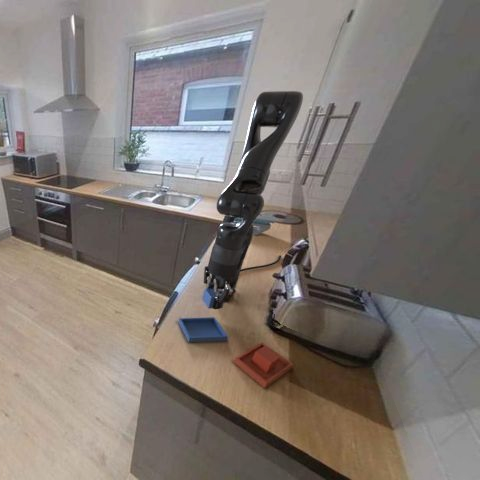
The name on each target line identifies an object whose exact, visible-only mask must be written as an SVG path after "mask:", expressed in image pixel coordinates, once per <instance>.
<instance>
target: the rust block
mask: <svg viewBox="0 0 480 480" xmlns="http://www.w3.org/2000/svg"><path fill="white" fill-rule="evenodd" d="M279 359H280V357H279V356H278V355H276V354H275V353H273V352H272V351H271V350H269V349H268V348H266V347H265V346H264V347H262V348H261V349H259V350H257V351H256V352H255V354H254V356H253V359H252V361H251V362H252V363H253V364H254V365H256V366H257V367H258V368H260V369H261V370H262V371H263V372H265V373H266V374H267V373H268V372H269V371H271V370H272V369H274V368H275V367H276V365H277V363H278V361H279Z"/></svg>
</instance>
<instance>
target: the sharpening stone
mask: <svg viewBox="0 0 480 480" xmlns="http://www.w3.org/2000/svg"><path fill="white" fill-rule="evenodd" d="M242 220H243V219H241V218H235V219H234V221H239V222H241V221H242ZM275 223H276V221H275V219H274V217H273V216H269V215H268V216H267V215H261V214H259V215H258V217H257V218H256V219H255V221H254V222H253V223H252V225H253V226H254V234H253V236H258V235H260V234H262V233H265V232H266V231H269V230H271V227H272V225H271V224H275Z"/></svg>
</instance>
